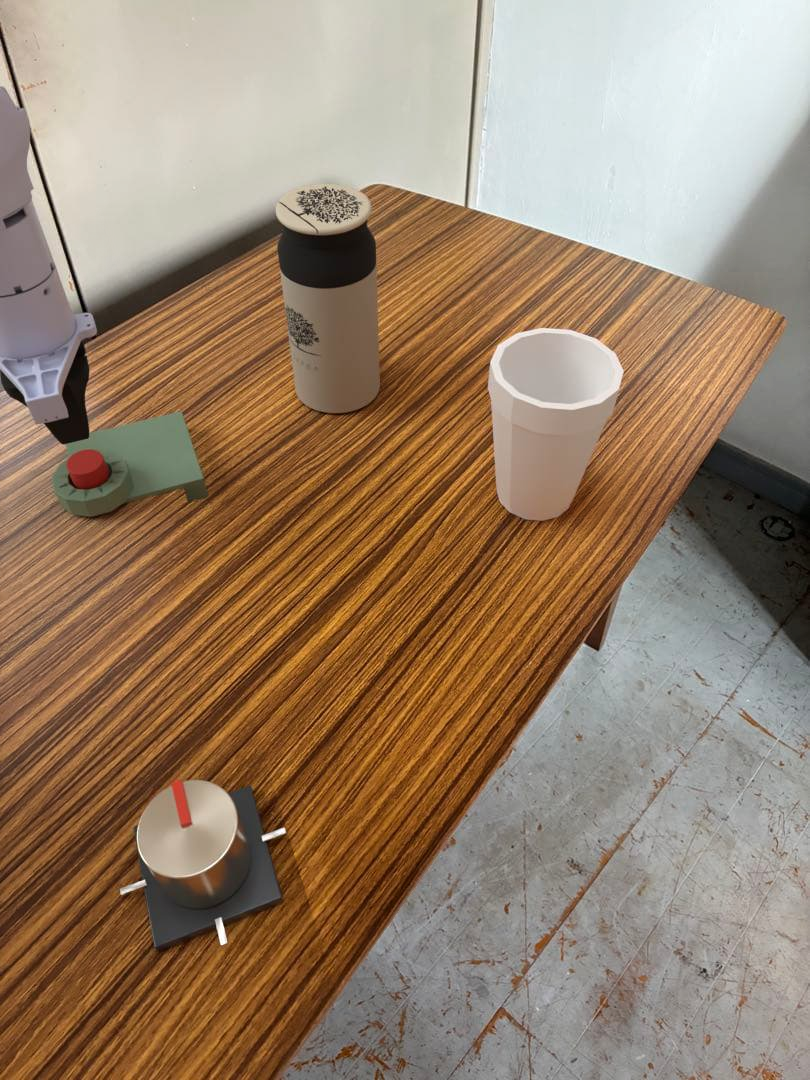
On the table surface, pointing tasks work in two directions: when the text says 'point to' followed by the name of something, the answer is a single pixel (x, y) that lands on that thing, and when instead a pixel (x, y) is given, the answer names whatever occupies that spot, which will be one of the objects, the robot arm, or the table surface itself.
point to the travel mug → (330, 296)
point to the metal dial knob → (194, 843)
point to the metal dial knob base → (250, 898)
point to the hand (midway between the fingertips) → (74, 435)
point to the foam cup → (548, 416)
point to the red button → (87, 469)
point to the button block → (134, 465)
